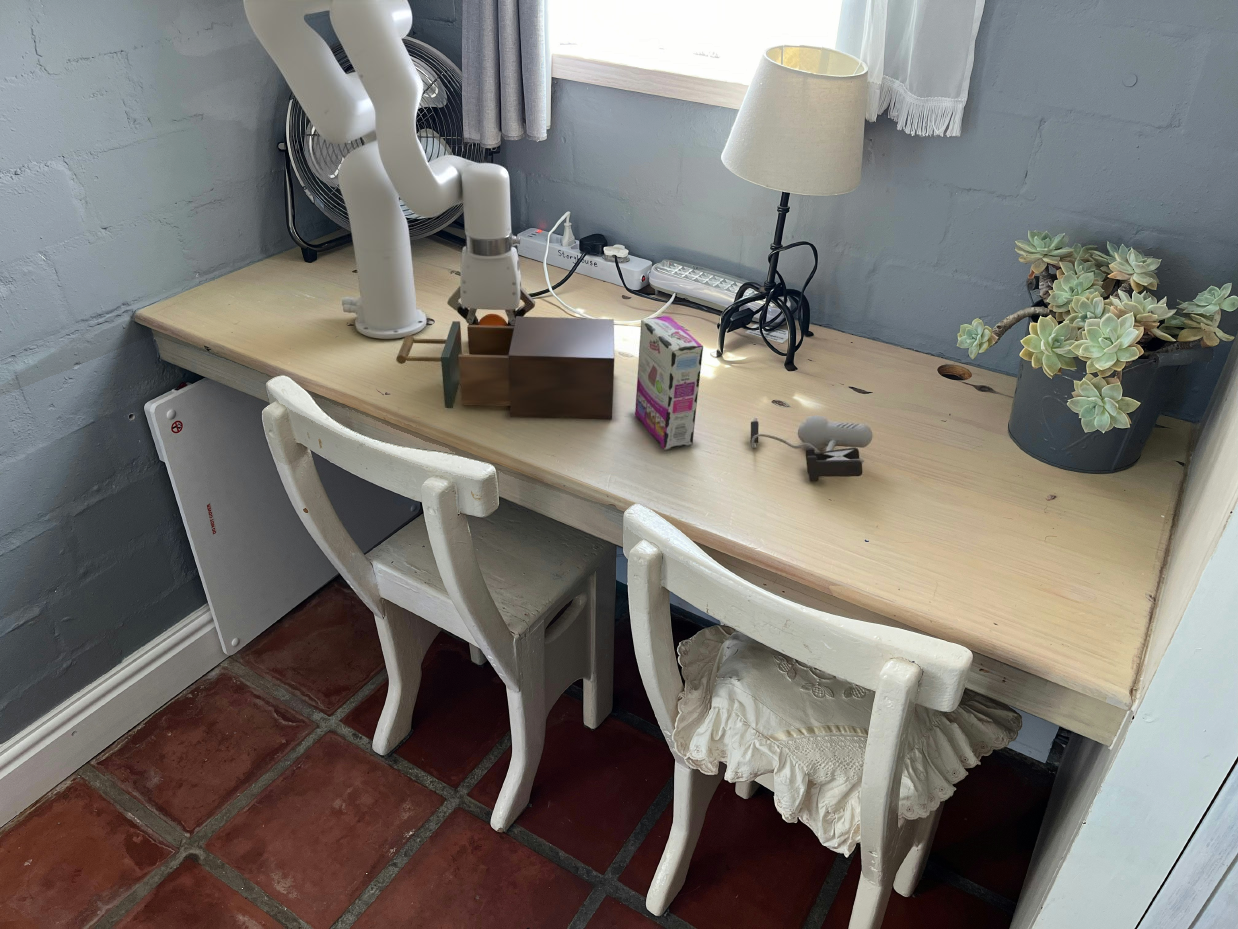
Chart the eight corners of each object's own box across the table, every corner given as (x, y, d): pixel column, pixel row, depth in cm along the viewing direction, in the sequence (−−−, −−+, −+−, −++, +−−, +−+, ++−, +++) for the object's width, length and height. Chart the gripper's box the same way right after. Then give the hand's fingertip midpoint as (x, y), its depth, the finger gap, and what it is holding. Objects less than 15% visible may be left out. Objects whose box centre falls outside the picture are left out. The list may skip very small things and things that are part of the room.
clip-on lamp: (736, 478, 128) (861, 489, 120) (731, 442, 125) (858, 451, 117) (759, 433, 136) (877, 441, 128) (755, 399, 133) (876, 404, 125)
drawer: (397, 407, 134) (391, 355, 129) (412, 368, 144) (406, 319, 139) (539, 410, 134) (538, 359, 129) (544, 372, 145) (543, 323, 140)
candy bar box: (694, 445, 130) (705, 345, 120) (664, 451, 128) (672, 351, 119) (662, 409, 138) (669, 313, 129) (633, 414, 136) (639, 317, 127)
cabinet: (510, 417, 134) (508, 355, 128) (517, 374, 145) (516, 316, 139) (612, 419, 135) (614, 358, 129) (611, 377, 146) (613, 319, 140)
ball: (473, 349, 153) (472, 320, 150) (482, 335, 157) (481, 307, 154) (504, 352, 152) (503, 323, 149) (512, 338, 156) (511, 310, 153)
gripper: (542, 236, 148) (543, 334, 158) (440, 233, 147) (447, 331, 157) (539, 252, 141) (540, 353, 152) (432, 249, 141) (441, 350, 151)
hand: (493, 341), depth 154 cm, fingers closed on ball, 5 cm apart
